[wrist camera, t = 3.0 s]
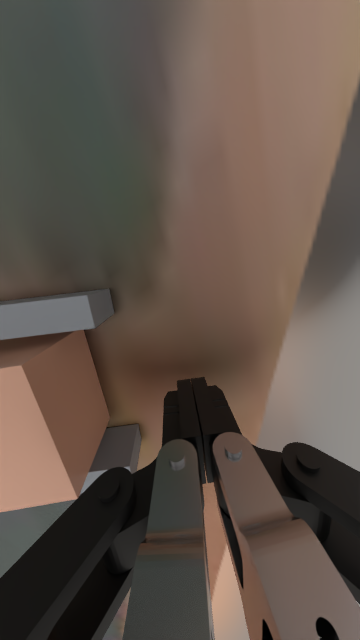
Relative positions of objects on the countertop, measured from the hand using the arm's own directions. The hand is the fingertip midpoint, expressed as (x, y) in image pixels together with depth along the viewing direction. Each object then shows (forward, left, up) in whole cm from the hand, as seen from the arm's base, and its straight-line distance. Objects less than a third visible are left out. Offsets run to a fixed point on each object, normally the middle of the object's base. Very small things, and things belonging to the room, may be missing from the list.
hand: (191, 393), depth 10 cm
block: (0, -10, -3) cm, 10 cm away
